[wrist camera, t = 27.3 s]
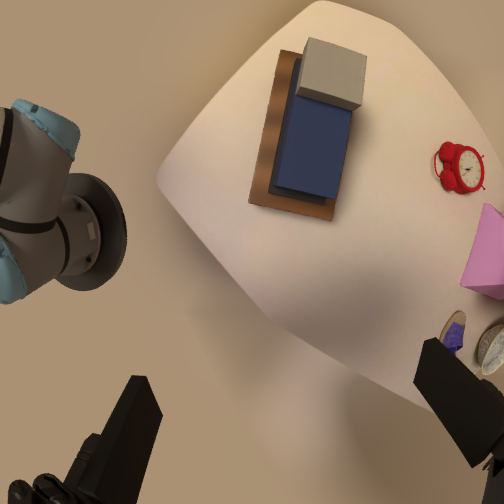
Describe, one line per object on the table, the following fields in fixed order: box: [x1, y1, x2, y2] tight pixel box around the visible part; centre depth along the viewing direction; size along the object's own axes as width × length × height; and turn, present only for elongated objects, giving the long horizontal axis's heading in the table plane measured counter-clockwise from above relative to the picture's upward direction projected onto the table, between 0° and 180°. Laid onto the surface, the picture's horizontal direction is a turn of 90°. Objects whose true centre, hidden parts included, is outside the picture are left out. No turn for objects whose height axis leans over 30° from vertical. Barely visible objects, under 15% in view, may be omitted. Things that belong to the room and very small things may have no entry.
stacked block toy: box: [268, 37, 367, 205], centre depth 29 cm, size 20×8×10 cm, turn 169°
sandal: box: [440, 311, 466, 356], centre depth 44 cm, size 8×20×15 cm, turn 159°
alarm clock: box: [434, 142, 485, 194], centre depth 39 cm, size 10×6×15 cm
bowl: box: [478, 325, 504, 375], centre depth 49 cm, size 16×16×8 cm
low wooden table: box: [248, 50, 352, 221], centre depth 37 cm, size 24×12×6 cm, turn 169°
